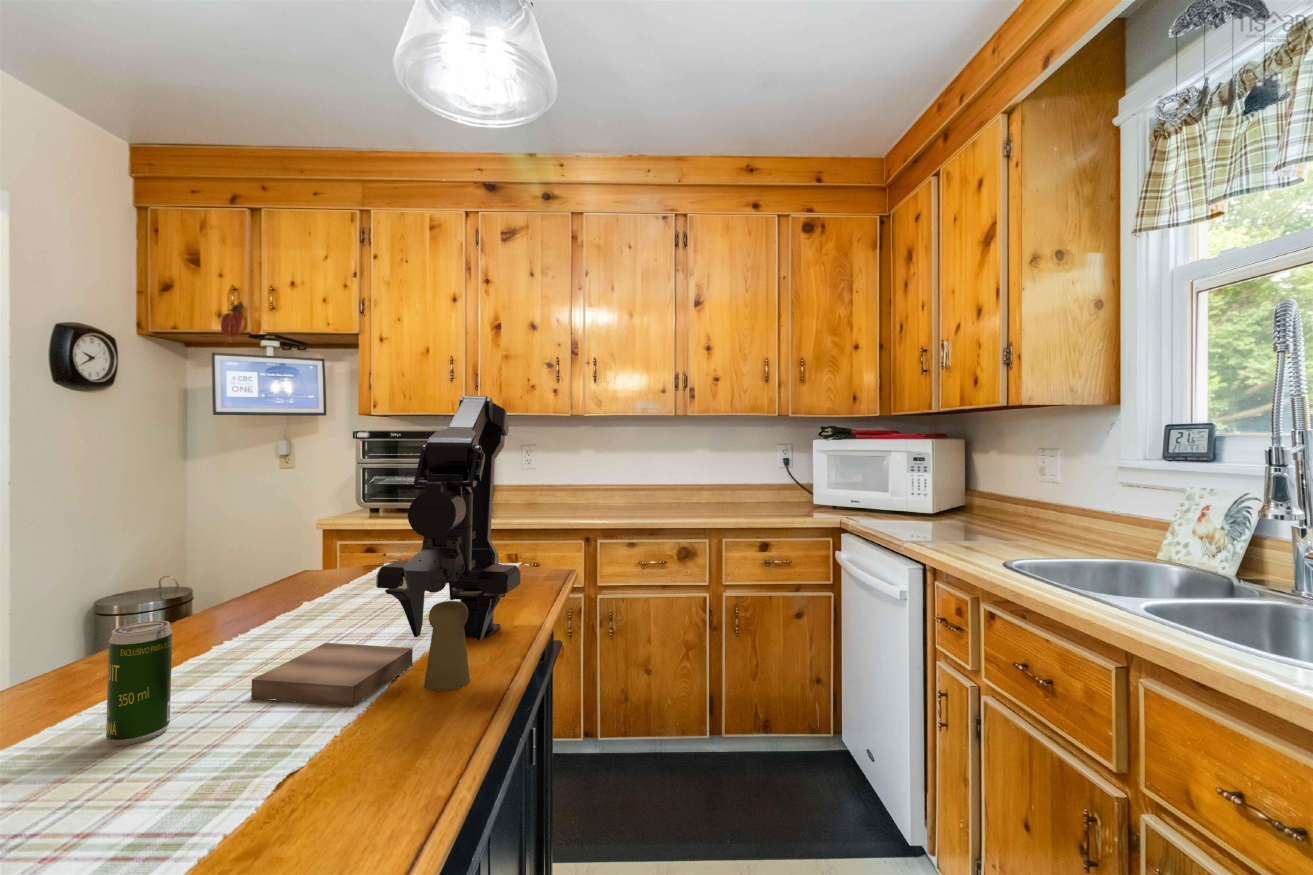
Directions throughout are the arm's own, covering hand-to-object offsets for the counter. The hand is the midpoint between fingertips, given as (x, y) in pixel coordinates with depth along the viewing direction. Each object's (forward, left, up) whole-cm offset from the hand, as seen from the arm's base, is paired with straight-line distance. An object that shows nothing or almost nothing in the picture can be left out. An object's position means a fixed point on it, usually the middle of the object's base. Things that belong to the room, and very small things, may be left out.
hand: (448, 638), depth 81 cm
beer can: (+19, -27, -6) cm, 34 cm away
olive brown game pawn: (0, 0, -6) cm, 6 cm away
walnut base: (+2, -15, -6) cm, 16 cm away
